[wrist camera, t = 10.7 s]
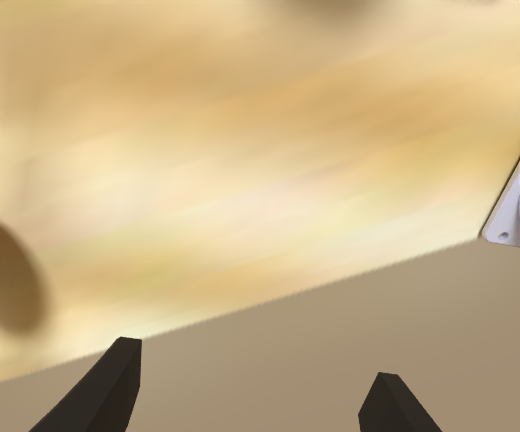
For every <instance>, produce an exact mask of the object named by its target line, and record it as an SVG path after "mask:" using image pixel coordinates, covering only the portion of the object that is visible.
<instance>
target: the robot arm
mask: <svg viewBox="0 0 520 432" xmlns="http://www.w3.org/2000/svg"><path fill="white" fill-rule="evenodd" d="M503 232H504V233H503ZM501 233H503V235H502V236H500V237H499V235H500V234H501ZM482 237H483V238H484V239H485V240H486V241H488V242H492V243H498V244H503V245H509V246H515V247H520V162H519V164H518V166H517V167H516V169H515V171H514V173H513V175H512V177H511V178H510V180H509V182H508V184H507V186H506V188H505V190H504V191H503V193H502V195H501V197H500V199H499V201H498V203H497V204H496V206H495V208H494V210H493V212H492V214H491V216H490V217H489V219H488V221H487V223H486V225H485V227H484V228H483V230H482ZM141 347H142V340H141V339H134V338H126V337H119V338H118V339H116V341H115V342H114V343H113V344H112V345H111V347H110V348H109V349H108V350H107V351H106V352H105V354H104V355H103V356H102V357H101V358H100V360H98V362H97V363H96V364H95V365H94V366H93V367H92V368H91V369H90V370H89V372H88V373H87V374H86V375H85V376H84V377H83V378H82V379H81V380H80V381H79V382H78V383H77V384H76V385H75V386H74V387H73V388H72V389H71V390H70V391H69V393H68V394H67V395H66V396H65V397H64V398H63V399H62V400H61V401H60V402H59V403H58V404H57V405H56V406H55V407H54V408H53V409H52V410H51V411H50V412H49V413H48V414H47V415H46V416H45V417H43V418H42V419H41V420H40V421H39V422H38V423H37V424H36V425H35V426H34V427H33V428H32V429H31V430H30V431H29V432H125V430H126V428H127V426H128V423H129V420H130V417H131V414H132V411H133V407H134V404H135V401H136V398H137V394H138V391H139V388H140V372H141ZM358 417H359V424H360V430H361V432H442V431H441V430H440V428H439V427H438V426H437V424H436V423H435V422H434V421H433V419H432V418H431V417H430V415H429V414H428V413H427V412H426V410H425V409H424V408H423V406H422V405H421V404H420V403H419V401H418V400H417V399H416V397H415V396H414V395H413V393H412V392H411V391H410V390H409V388H408V387H407V386H406V384H405V383H404V382H403V381H402V379H401V378H400V377H399V376H398V375H396V374H389V373H382V372H379V373H378V375H377V377H376V379H375V381H374V383H373V385H372V387H371V389H370V391H369V393H368V395H367V397H366V399H365V401H364V403H363V405H362V408H361V409H360V412H359V414H358Z"/></svg>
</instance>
